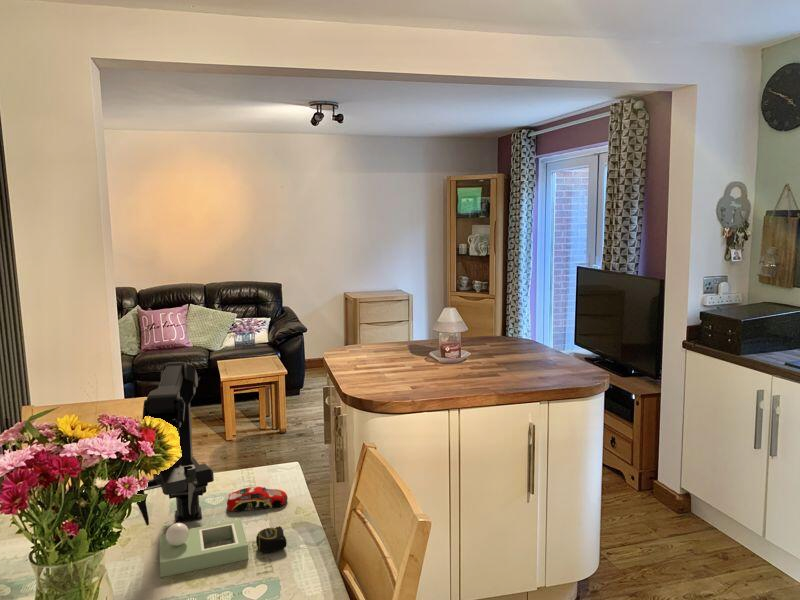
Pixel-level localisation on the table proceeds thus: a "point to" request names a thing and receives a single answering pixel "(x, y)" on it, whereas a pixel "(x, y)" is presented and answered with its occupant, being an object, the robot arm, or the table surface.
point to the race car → (255, 499)
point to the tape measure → (271, 539)
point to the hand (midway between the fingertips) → (169, 519)
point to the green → (193, 550)
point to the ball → (177, 534)
